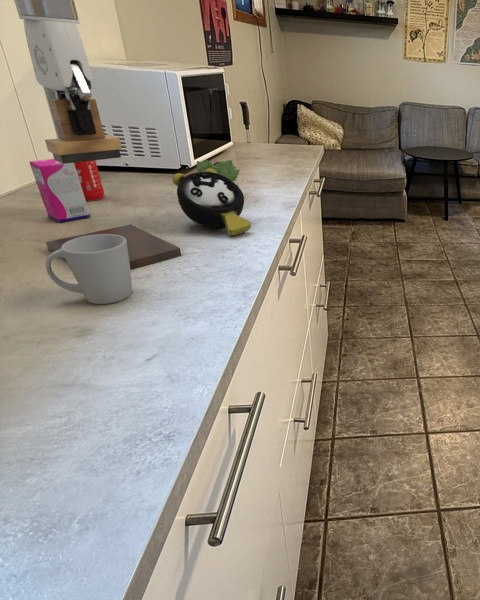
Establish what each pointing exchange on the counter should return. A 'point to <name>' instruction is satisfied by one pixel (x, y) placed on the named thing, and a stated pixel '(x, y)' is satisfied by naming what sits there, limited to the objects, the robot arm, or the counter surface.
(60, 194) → the supplement box
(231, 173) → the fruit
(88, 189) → the beverage can
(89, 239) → the cup
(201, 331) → the counter surface
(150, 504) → the counter surface
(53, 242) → the cutting board
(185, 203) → the alarm clock
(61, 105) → the brush
